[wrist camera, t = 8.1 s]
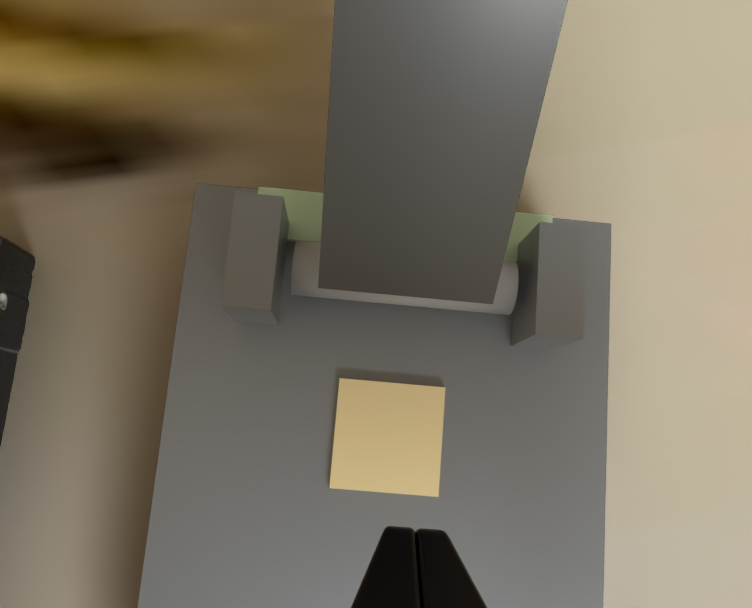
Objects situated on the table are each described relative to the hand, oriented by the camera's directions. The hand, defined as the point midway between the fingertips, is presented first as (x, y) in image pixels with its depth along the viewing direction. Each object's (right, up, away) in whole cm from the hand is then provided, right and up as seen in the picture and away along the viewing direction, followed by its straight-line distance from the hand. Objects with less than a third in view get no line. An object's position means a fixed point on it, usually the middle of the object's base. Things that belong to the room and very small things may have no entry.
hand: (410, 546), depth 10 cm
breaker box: (-1, -2, +10) cm, 10 cm away
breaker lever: (0, +4, +6) cm, 7 cm away
